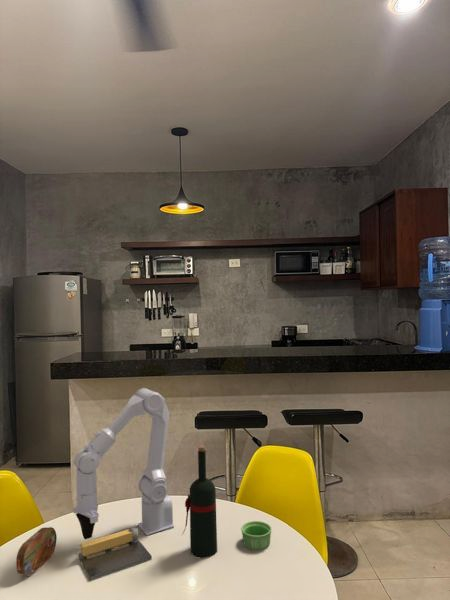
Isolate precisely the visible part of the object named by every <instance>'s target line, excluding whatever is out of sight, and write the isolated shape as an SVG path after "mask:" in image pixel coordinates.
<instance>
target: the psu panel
mask: <svg viewBox="0 0 450 600" xmlns="http://www.w3.org/2000/svg"><path fill="white" fill-rule="evenodd" d="M77 557H78V560H79V561H80V563H81V565H82V568H83V569H84V571H85V572H86V575H87V577H88V578H89V580H90V581H91V582H92V581H94V580H97V579H100V578H102V577H106V576H109V575H111V574H114V573H117V572H120V571H123V570H125V569H129V568H131V567H135V566H136V565H139V564H143V563H146V562H147V561H152V557H153V556H152V554H151V553H150V552H149V551H148V550H147V548H146V547H145V546H144V544H143V543H142V542H141V541H140V540H139V538H138V539H136V540H134V541H130V542H126V543H123V544H120V545H117V546H114V547H111V548H108V549H104V550H101V551H98V552H95V553H92V554H89V555H86V556H83V555H82V553H81V552H78V554H77Z"/></svg>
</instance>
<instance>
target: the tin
mask: <svg viewBox="0 0 450 600" xmlns="http://www.w3.org/2000/svg"><path fill="white" fill-rule="evenodd" d="M57 540H58V539H57V532H56V529H55V528H54V527H53V526H49V527H42V528H40V529H38V530H37V531H36V532H34V534H32V535H31V536H30V537H29V538H28V539H26V540H25V541H24V542H23V543H22V544H21V546H20V547H19V549H18V551H17V553H16V558H15V559H16V560H15V561H16V562H15V564H16V571H17V573H18V574H19V575H20V576H28V577H30V576H33V575H34V574H35V573H36V572H37V571H38V570H40V568H41V567H42V566H43V565H44V564H45V563H46V562H47V561H48V560H49V559H50V558H51V557H52V556H53V554H54V553H55V549H56V546H57Z"/></svg>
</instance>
